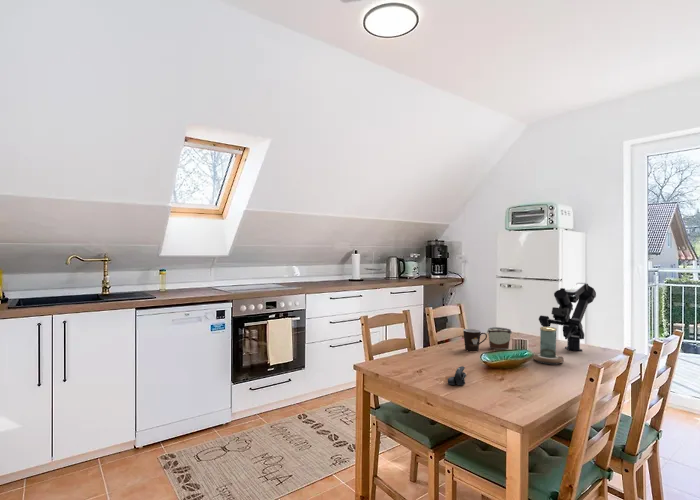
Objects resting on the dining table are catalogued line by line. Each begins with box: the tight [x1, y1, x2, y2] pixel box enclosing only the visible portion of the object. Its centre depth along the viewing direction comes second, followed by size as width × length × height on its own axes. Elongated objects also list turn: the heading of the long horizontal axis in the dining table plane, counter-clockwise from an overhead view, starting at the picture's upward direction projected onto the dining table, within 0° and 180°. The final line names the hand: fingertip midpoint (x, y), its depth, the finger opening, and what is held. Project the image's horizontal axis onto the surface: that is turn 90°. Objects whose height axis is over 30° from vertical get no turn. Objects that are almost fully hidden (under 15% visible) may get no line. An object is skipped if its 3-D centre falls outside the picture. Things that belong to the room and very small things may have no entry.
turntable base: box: [535, 360, 561, 365], centre depth 194 cm, size 10×10×1 cm
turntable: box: [532, 352, 565, 364], centre depth 194 cm, size 13×13×1 cm
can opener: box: [447, 365, 467, 386], centre depth 166 cm, size 18×7×6 cm, turn 155°
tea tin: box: [539, 326, 557, 358], centre depth 194 cm, size 7×7×13 cm
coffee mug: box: [462, 328, 488, 352], centre depth 213 cm, size 12×9×10 cm
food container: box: [486, 326, 513, 350], centre depth 221 cm, size 12×6×10 cm, turn 84°
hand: (555, 337), depth 200 cm, fingers open, 9 cm apart
